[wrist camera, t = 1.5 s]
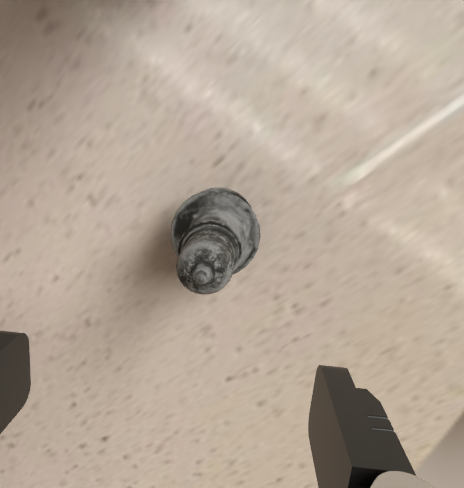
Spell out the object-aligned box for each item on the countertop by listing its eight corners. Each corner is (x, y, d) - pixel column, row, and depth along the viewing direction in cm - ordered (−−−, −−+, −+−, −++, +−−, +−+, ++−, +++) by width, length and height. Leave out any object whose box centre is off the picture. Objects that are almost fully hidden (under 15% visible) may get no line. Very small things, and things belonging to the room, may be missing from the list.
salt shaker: (266, 252, 31) (276, 326, 19) (190, 268, 31) (156, 349, 20) (249, 175, 29) (250, 204, 18) (170, 193, 30) (120, 232, 18)
